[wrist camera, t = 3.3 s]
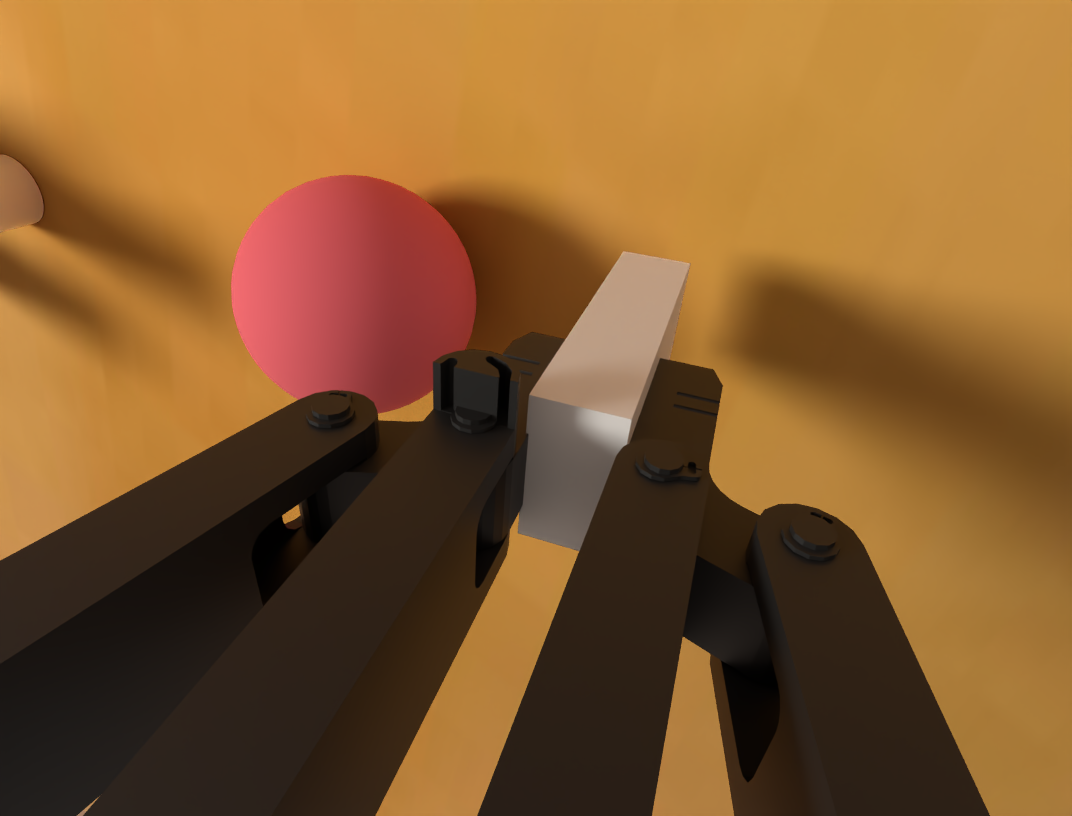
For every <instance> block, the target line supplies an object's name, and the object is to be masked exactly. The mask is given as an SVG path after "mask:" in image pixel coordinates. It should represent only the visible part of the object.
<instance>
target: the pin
mask: <svg viewBox="0 0 1072 816" xmlns="http://www.w3.org/2000/svg"><path fill="white" fill-rule="evenodd" d="M43 212H44V204H43V199H42V195H41V193H40V190H39V188H38V186H37V184H36V182H35V180H34V179H33V177H32V176H31V175H30V173H29V172H28V171H27V170H26V168H25V167H24V166H23V165H21V164H20V163H19V162H18V161H16V160H15V159H13V158H12V157H10V156H7V155H3V154H0V232H3V231H7V230H11V229H15V228H19V227H22V226H26V225H30V224H34V223H37V222H38V221H40V220H41V218H42V216H43Z"/></svg>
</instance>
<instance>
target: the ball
mask: <svg viewBox="0 0 1072 816" xmlns="http://www.w3.org/2000/svg"><path fill="white" fill-rule="evenodd" d="M231 291H232V307H233V313H234V317H235V321H236V325H237V327H238V330H239V333H240V335H241V338H242V340H243V342H244V344H245V346H246V348H247V350H248V351H249V353H250V355H251V356H252V358H253V359H254V361H255V362H256V363H257V365H258V366H259V367H260V368H261V370H262V371H263V372H264V373H265V374H266V375H267V376H268V377H269V378H270V379H271V380H272V381H273V382H274V383H276V384H277V385H278V386H279V387H280V388H282V389H283V390H284V391H286V392H287V393H289V394H290V395H292V396H293V397H295V398H297V399H301V398H304V397H306V396H309V395H311V394H314V393H318V392H324V391H330V390H340V391H341V390H343V391H352V392H355V393H359V394H362V395H365V396H366V397H367V398H369V399H370V400H372V401H373V402H374V404H375V406H376V409H377V411H378V413H383V412H387V411H391V410H395V409H398V408H401V407H403V406H406V405H408V404H411V403H413V402H415V401H416V400H418V399H420V398H422V397H423V396H425V395H427V394H428V393H429V392H431V391H432V390H433V361H435V360H437V359H438V358H440V357H441V356H443V355H445V354H449V353H452V352H456V351H462V350H465V349H466V347H467V345H468V342H469V339H470V337H471V334H472V329H473V324H474V320H475V315H476V287H475V280H474V275H473V270H472V267H471V264H470V260H469V258H468V255H467V253H466V251H465V248H464V246H463V244H462V243H461V241H460V239H459V237H458V235H457V234H456V233H455V231H454V230H453V228H452V227H451V226H450V224H449V223H448V222H447V221H446V220H445V218H444V217H443V216H442V215H441V214H440V213H439V212H438V211H437V210H436V209H435V208H433V207H432V206H431V205H430V204H429V203H427V202H426V201H424V200H423V199H422V198H420V197H419V196H417V195H416V194H414V193H413V192H411V191H409V190H407V189H405V188H403V187H401V186H399V185H396V184H393V183H391V182H388V181H385V180H381V179H377V178H372V177H368V176H356V175H339V176H330V177H325V178H320V179H316V180H313V181H309V182H306V183H304V184H302V185H300V186H297V187H295V188H293V189H291V190H289V191H287V192H285V193H284V194H283V195H281V196H280V197H279V198H277V199H276V200H275V201H273V202H272V203H271V204H269V205H268V206H267V207H266V208H265V209H264V210H263V211H262V212H261V214H260V215H259V216H258V217H257V218H256V219H255V221H254V222H253V223H252V225H251V226H250V228H249V229H248V231H247V232H246V234H245V236H244V238H243V240H242V242H241V245H240V247H239V249H238V252H237V255H236V260H235V264H234V268H233V272H232V282H231Z"/></svg>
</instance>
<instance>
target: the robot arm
mask: <svg viewBox="0 0 1072 816" xmlns="http://www.w3.org/2000/svg"><path fill="white" fill-rule="evenodd" d="M689 268H690V263H686V262H680V261H675V260H669V259H664V258H658V257H653V256H647V255H642V254H636V253H631V252H625V251H623V253H622V254H621V256H620V257H619V259H618V260H617V262H616V263H615V265H614V266H613V268H612V270H611V271H610V273H609V274H608V276H607V277H606V279H605V280H604V282H603V283H602V285H601V286H600V288H599V289H598V291H597V292H596V294H595V295H594V297H593V298H592V300H591V301H590V303H589V304H588V306H587V307H586V309H585V311H584V312H583V314H582V315H581V317H580V318H579V320H578V321H577V323H576V324H575V326H574V327H573V329H572V330H571V332H570V333H569V335H568V336H567V338H566V339H562V338H557V337H553V336H548V335H543V334H539V333H534V332H531V333H529V334H527V335H525V336H523V337H521V338H518V339H516V340H514V341H513V342H512V343H511V344H510V346H509V347H508V348H507V349H506V351H505V352H504V353H503V355H500V354H497V353H494V352H490V351H482V350H462V351H456V352H452V353H449V354H445V355H443V356H441V357H440V358H438V359H437V360H435V361H433V406H434V409H433V410H432V411H431V413H430V414H429V415H428V416H427V417H426V418H425V420H424V421H419V422H402V421H379V420H378V411H377V409H376V406H375V404H374V402H373V401H372V400H370V399H369V398H367V397H366V396H365V395H362V394H359V393H355V392H352V391H343V390H341V391H340V390H330V391H324V392H318V393H314V394H311V395H309V396H306V397H304V398H301V399H299V400H297V401H295V402H294V403H292V404H290V405H288V406H286V407H284V408H282V409H281V410H279V411H277V412H275V413H273V414H271V415H269V416H268V417H266V418H264V419H262V420H260V421H258V422H256V423H255V424H253V425H251V426H249V427H247V428H245V429H244V430H242V431H240V432H238V433H236V434H234V435H232V436H231V437H229V438H227V439H225V440H223V441H221V442H219V443H218V444H216V445H214V446H212V447H210V448H208V449H206V450H205V451H203V452H201V453H199V454H197V455H195V456H193V457H192V458H190V459H188V460H186V461H184V462H182V463H181V464H179V465H177V466H175V467H173V468H171V469H169V470H168V471H166V472H164V473H162V474H160V475H158V476H156V477H155V478H153V479H151V480H149V481H147V482H145V483H143V484H142V485H140V486H138V487H136V488H134V489H132V490H130V491H129V492H127V493H125V494H123V495H121V496H119V497H118V498H116V499H114V500H112V501H110V502H108V503H106V504H105V505H103V506H101V507H99V508H97V509H95V510H93V511H92V512H90V513H88V514H86V515H84V516H82V517H80V518H79V519H77V520H75V521H73V522H71V523H69V524H67V525H66V526H64V527H62V528H60V529H58V530H56V531H55V532H53V533H51V534H49V535H47V536H45V537H43V538H42V539H40V540H38V541H36V542H34V543H32V544H30V545H29V546H27V547H25V548H23V549H21V550H19V551H17V552H16V553H14V554H12V555H10V556H8V557H6V558H4V559H3V560H1V561H0V816H77V815H78V814H79V813H80V812H81V811H82V810H84V809H85V808H86V807H87V806H88V805H89V804H91V803H92V802H93V801H94V800H95V799H96V798H98V797H99V796H100V797H99V798H98V799H97V800H96V801H95V802H94V804H93V805H92V806H91V807H90V808H89V809H88V811H87V812H86V813H85V814H84V815H83V816H375V815H376V813H377V811H378V809H379V807H380V805H381V803H382V801H383V799H384V797H385V795H386V793H387V791H388V789H389V787H390V785H391V783H392V781H393V779H394V777H395V775H396V773H397V771H398V769H399V767H400V765H401V764H402V762H403V760H404V758H405V756H406V754H407V752H408V750H409V748H410V746H411V744H412V742H413V740H414V738H415V736H416V734H417V732H418V730H419V728H420V726H421V724H422V722H423V720H424V718H425V716H426V714H427V712H428V710H429V708H430V706H431V704H432V702H433V700H434V698H435V696H436V694H437V692H438V690H439V688H440V686H441V684H442V682H443V680H444V678H445V676H446V674H447V672H448V670H449V668H450V666H451V664H452V662H453V660H454V658H455V657H456V655H457V653H458V651H459V649H460V647H461V645H462V643H463V641H464V639H465V637H466V635H467V633H468V631H469V629H470V627H471V625H472V623H473V621H474V619H475V617H476V615H477V613H478V611H479V609H480V607H481V605H482V603H483V601H484V599H485V597H486V595H487V593H488V591H489V589H490V587H491V585H492V583H493V581H494V579H495V577H496V575H497V573H498V571H499V569H500V567H501V565H502V563H503V561H504V559H505V557H506V555H507V551H508V546H509V534H510V528H511V526H512V524H513V522H514V521H515V519H516V517H517V515H518V513H519V525H518V533H520V534H523V535H526V536H530V537H533V538H537V539H540V540H543V541H547V542H550V543H554V544H557V545H561V546H564V547H567V548H571V549H574V550H578V551H579V553H578V556H577V559H576V561H575V564H574V566H573V569H572V572H571V574H570V577H569V579H568V582H567V585H566V587H565V590H564V592H563V595H562V598H561V600H560V603H559V605H558V608H557V611H556V613H555V616H554V618H553V621H552V623H551V626H550V629H549V631H548V634H547V636H546V639H545V642H544V644H543V647H542V649H541V652H540V655H539V657H538V660H537V662H536V665H535V668H534V670H533V673H532V675H531V678H530V681H529V683H528V686H527V688H526V691H525V694H524V696H523V699H522V701H521V704H520V706H519V709H518V712H517V714H516V717H515V719H514V722H513V725H512V727H511V730H510V732H509V735H508V738H507V740H506V743H505V745H504V748H503V751H502V753H501V756H500V758H499V761H498V764H497V766H496V769H495V771H494V774H493V776H492V779H491V782H490V784H489V787H488V789H487V792H486V795H485V797H484V800H483V802H482V805H481V808H480V810H479V813H478V815H477V816H652V811H653V805H654V800H655V794H656V788H657V782H658V776H659V771H660V765H661V759H662V753H663V747H664V742H665V736H666V730H667V724H668V718H669V712H670V707H671V701H672V695H673V689H674V683H675V678H676V672H677V666H678V660H679V654H680V649H681V643H682V637H685V638H686V639H688V640H690V641H691V642H693V643H694V644H696V645H698V646H699V647H701V648H702V649H704V650H705V651H707V652H709V653H710V654H711V656H710V666H711V673H712V679H713V685H714V691H715V697H716V704H717V710H718V716H719V722H720V729H721V735H722V741H723V747H724V754H725V760H726V766H727V772H728V779H729V785H730V791H731V797H732V804H733V810H734V816H990V815H989V813H988V810H987V808H986V806H985V804H984V802H983V800H982V798H981V795H980V793H979V791H978V789H977V787H976V785H975V783H974V780H973V778H972V776H971V774H970V772H969V770H968V768H967V765H966V763H965V761H964V759H963V757H962V755H961V753H960V750H959V748H958V746H957V744H956V742H955V740H954V738H953V735H952V733H951V731H950V729H949V727H948V725H947V723H946V720H945V718H944V716H943V714H942V712H941V710H940V708H939V705H938V703H937V701H936V699H935V697H934V695H933V693H932V690H931V688H930V686H929V684H928V682H927V680H926V678H925V675H924V673H923V671H922V669H921V667H920V665H919V663H918V660H917V658H916V656H915V654H914V652H913V650H912V648H911V645H910V643H909V641H908V639H907V637H906V635H905V633H904V630H903V628H902V626H901V624H900V622H899V620H898V618H897V615H896V613H895V611H894V609H893V607H892V605H891V603H890V600H889V598H888V596H887V594H886V592H885V590H884V588H883V585H882V583H881V581H880V579H879V577H878V575H877V573H876V570H875V568H874V566H873V564H872V562H871V560H870V558H869V555H868V553H867V551H866V549H865V547H864V545H863V544H862V542H861V541H860V539H859V538H858V537H857V535H856V534H855V532H854V531H853V530H852V529H851V528H849V527H848V526H847V525H845V524H844V523H843V522H842V521H840V520H839V519H838V518H836V517H834V516H832V515H830V514H828V513H826V512H824V511H822V510H819V509H817V508H813V507H809V506H805V505H800V504H778V505H775V506H773V507H770V508H768V509H765V510H764V511H763V513H762V514H761V515H758V514H756V513H754V512H752V511H750V510H748V509H746V508H744V507H742V506H740V505H739V504H737V503H735V502H734V501H732V500H730V499H729V498H728V497H727V496H726V495H725V494H723V493H722V492H721V491H720V490H719V489H718V487H717V486H716V485H715V483H714V482H713V480H712V478H711V475H710V473H709V462H710V456H711V450H712V444H713V439H714V433H715V427H716V421H717V415H718V410H719V403H720V398H721V393H722V387H723V385H722V384H721V382H720V380H719V378H718V377H717V375H716V373H715V371H714V370H713V369H708V368H704V367H699V366H695V365H690V364H685V363H681V362H676V361H672V360H670V356H671V351H672V347H673V342H674V337H675V333H676V328H677V323H678V319H679V314H680V309H681V305H682V300H683V295H684V291H685V286H686V282H687V277H688V272H689ZM298 504H299V509H300V514H301V515H300V516H299V517H298V518H296V519H295V520H293V521H291V522H288V523H286V524H284V522H283V518H282V515H283V514H285V513H286V512H288V511H289V510H291V509H292V508H294V507H295V506H296V505H298ZM519 511H520V512H519Z"/></svg>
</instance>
